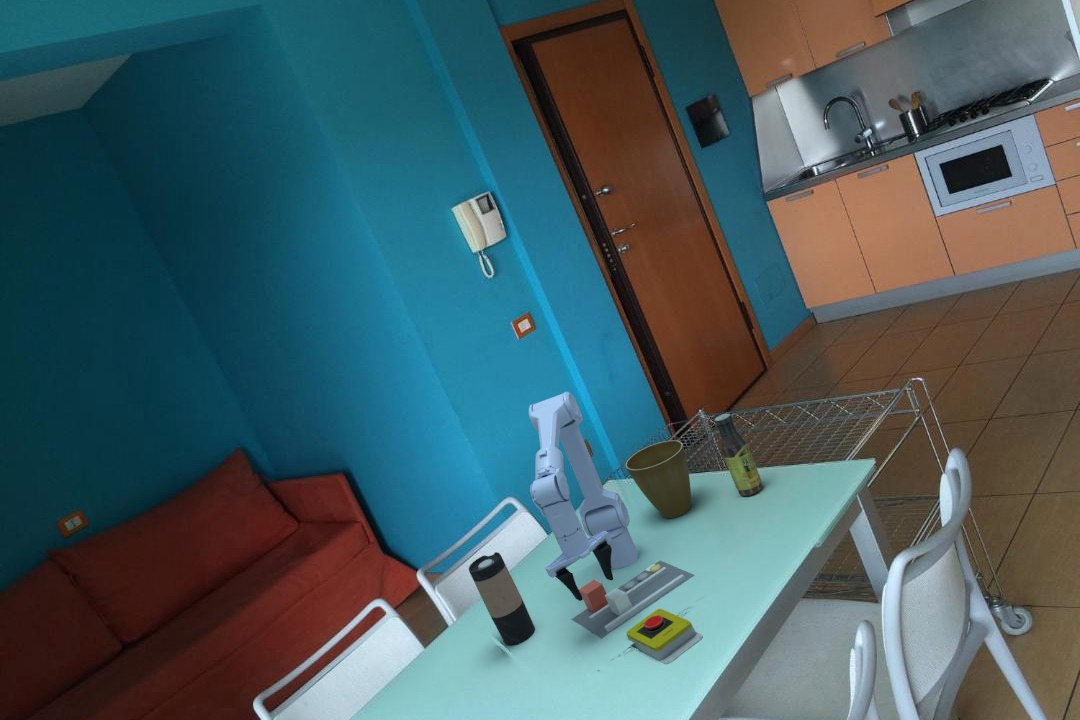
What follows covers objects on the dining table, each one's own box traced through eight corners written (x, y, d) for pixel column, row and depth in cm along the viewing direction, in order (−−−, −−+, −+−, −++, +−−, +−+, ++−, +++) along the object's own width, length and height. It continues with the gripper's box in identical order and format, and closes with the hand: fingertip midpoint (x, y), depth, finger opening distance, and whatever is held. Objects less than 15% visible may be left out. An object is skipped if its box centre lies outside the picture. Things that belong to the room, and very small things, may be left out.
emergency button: (653, 600, 182) (697, 618, 169) (661, 618, 183) (706, 638, 170) (617, 626, 179) (659, 647, 165) (625, 645, 179) (668, 667, 166)
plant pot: (643, 532, 224) (618, 474, 221) (657, 503, 237) (633, 449, 235) (700, 518, 218) (675, 459, 215) (711, 490, 231) (687, 434, 228)
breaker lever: (611, 611, 190) (604, 595, 189) (623, 604, 191) (616, 587, 190) (622, 617, 186) (614, 600, 185) (633, 609, 187) (626, 592, 186)
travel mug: (515, 656, 193) (476, 575, 189) (501, 646, 200) (462, 567, 196) (544, 635, 196) (506, 555, 192) (529, 626, 203) (492, 549, 199)
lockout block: (587, 609, 195) (578, 589, 195) (602, 599, 197) (593, 579, 196) (596, 614, 192) (586, 594, 191) (611, 604, 193) (602, 584, 192)
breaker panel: (574, 625, 195) (569, 615, 194) (662, 566, 203) (658, 556, 203) (604, 644, 182) (599, 634, 181) (697, 581, 190) (692, 570, 190)
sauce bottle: (759, 495, 216) (728, 421, 212) (735, 499, 220) (705, 426, 216) (767, 482, 221) (737, 409, 218) (744, 485, 225) (714, 414, 221)
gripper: (546, 553, 176) (574, 613, 178) (606, 515, 181) (632, 574, 183) (531, 546, 182) (558, 604, 185) (590, 509, 187) (616, 566, 190)
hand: (594, 588), depth 185 cm, fingers open, 7 cm apart
